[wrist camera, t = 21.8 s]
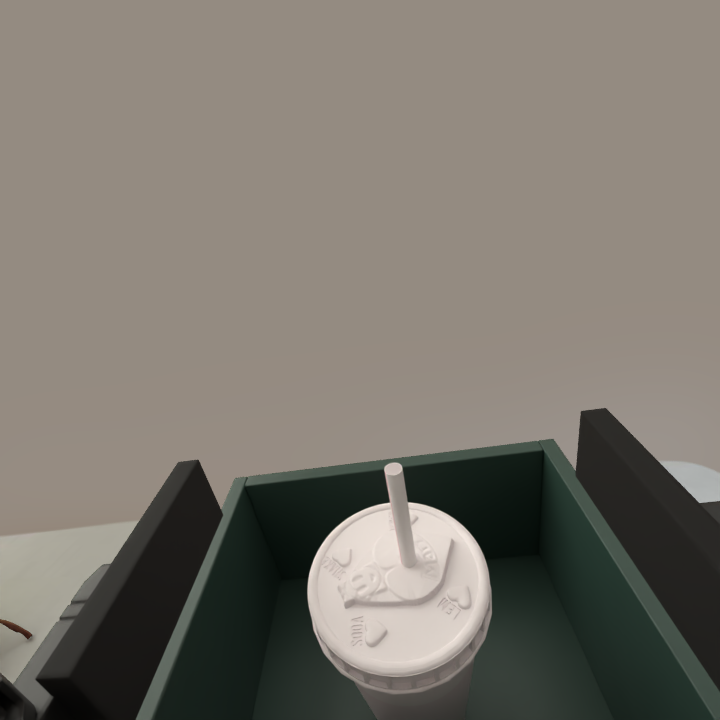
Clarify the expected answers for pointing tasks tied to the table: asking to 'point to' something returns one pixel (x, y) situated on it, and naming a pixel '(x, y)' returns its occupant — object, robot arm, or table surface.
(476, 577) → the smoothie
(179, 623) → the bin
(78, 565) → the table surface
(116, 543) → the table surface
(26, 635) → the fruit
